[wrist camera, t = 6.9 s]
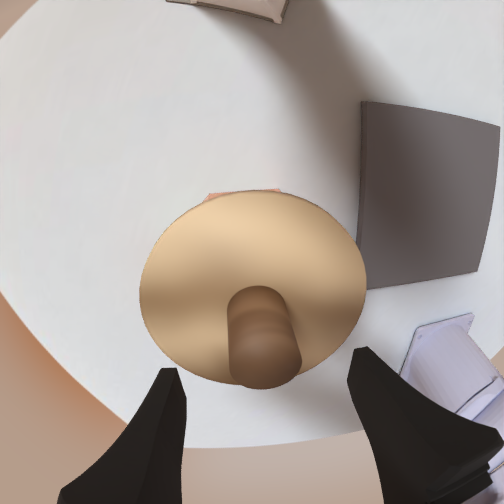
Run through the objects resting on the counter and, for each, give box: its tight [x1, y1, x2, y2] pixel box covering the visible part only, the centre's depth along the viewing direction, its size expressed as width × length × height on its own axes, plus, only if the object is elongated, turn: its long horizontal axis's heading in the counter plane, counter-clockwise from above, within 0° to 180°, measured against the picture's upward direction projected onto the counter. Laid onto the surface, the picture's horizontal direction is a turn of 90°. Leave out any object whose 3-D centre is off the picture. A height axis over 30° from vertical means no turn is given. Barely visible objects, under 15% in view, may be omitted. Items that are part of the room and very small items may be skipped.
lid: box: [139, 190, 366, 389], centre depth 14 cm, size 12×12×5 cm
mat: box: [356, 102, 500, 290], centre depth 19 cm, size 13×13×1 cm
